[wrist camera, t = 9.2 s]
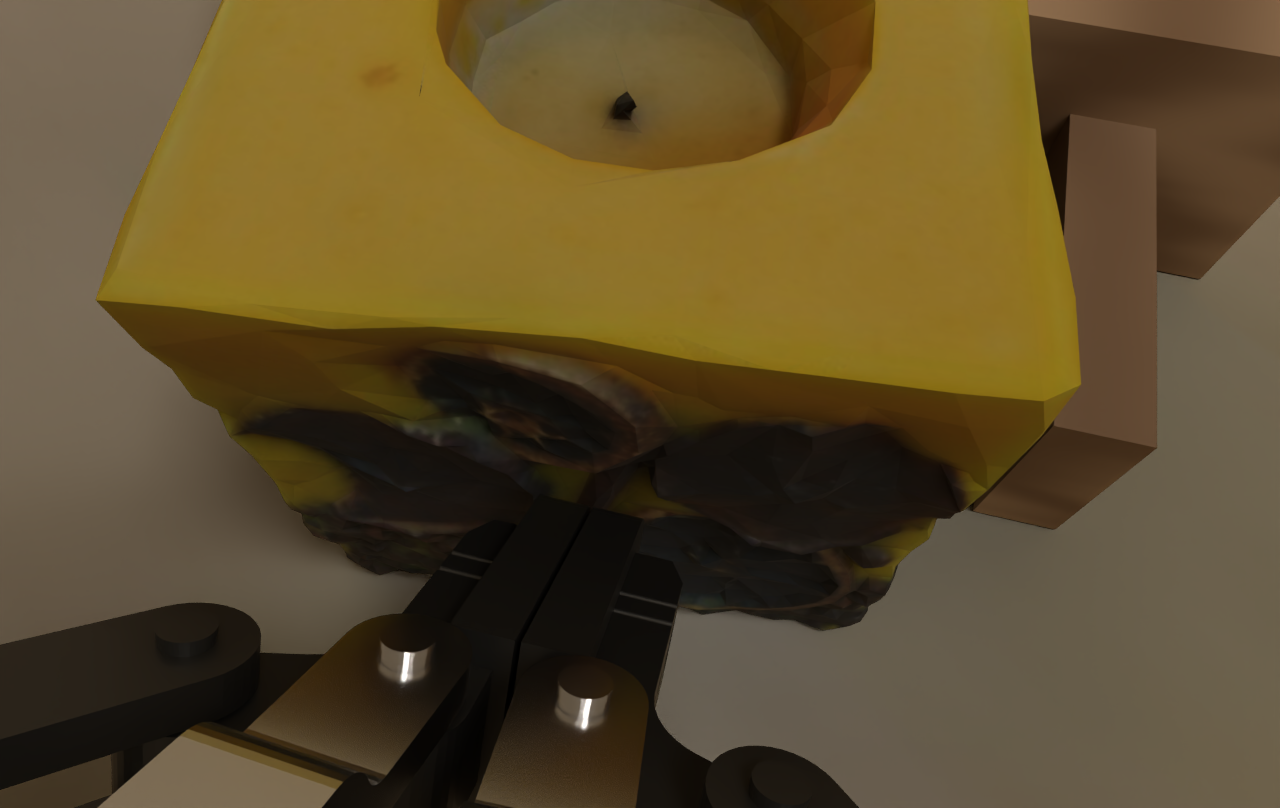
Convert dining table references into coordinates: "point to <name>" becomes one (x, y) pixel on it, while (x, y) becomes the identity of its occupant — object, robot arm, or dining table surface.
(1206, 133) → the brown rectangular block structure
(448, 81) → the candle
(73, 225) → the dining table surface
